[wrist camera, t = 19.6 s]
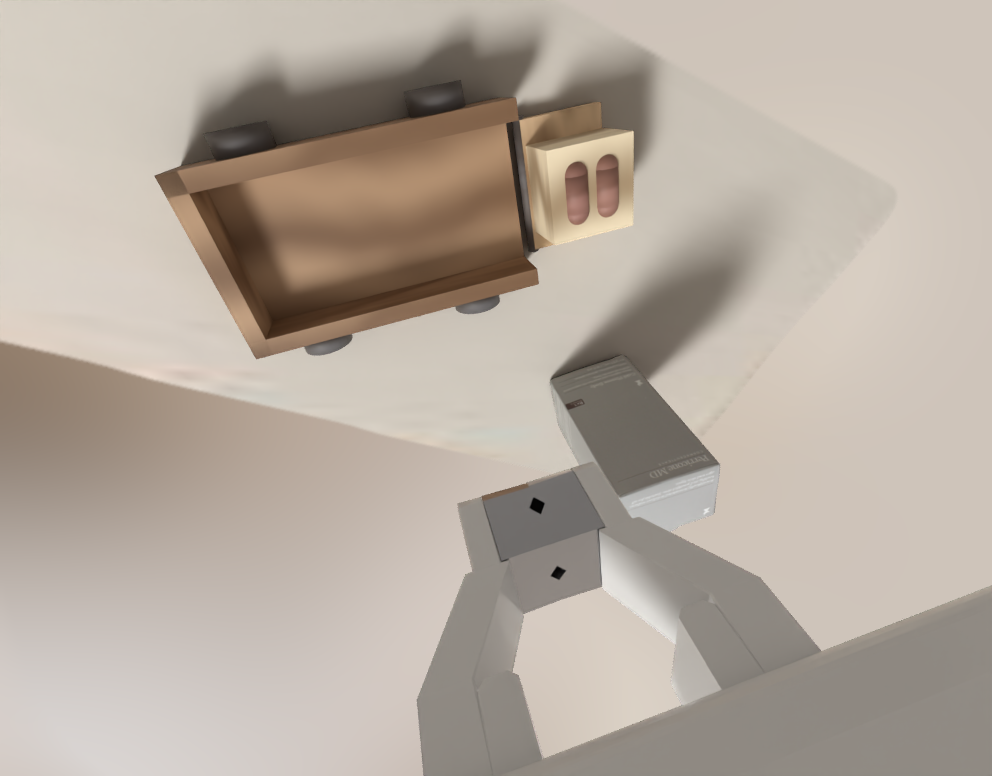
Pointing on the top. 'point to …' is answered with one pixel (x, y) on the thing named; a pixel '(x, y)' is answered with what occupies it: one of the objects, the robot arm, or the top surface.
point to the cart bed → (357, 221)
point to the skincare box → (636, 443)
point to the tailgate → (544, 130)
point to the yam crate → (582, 184)
